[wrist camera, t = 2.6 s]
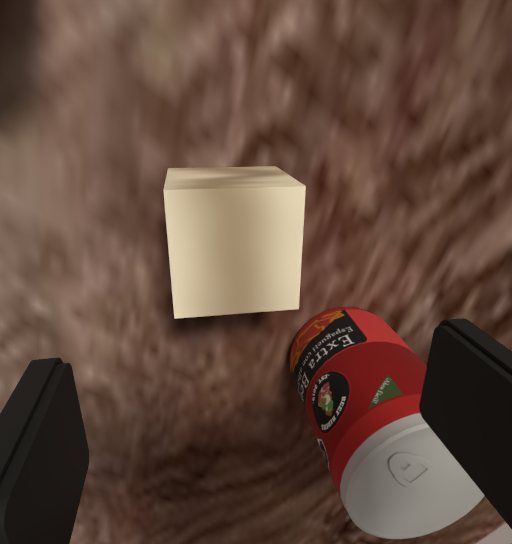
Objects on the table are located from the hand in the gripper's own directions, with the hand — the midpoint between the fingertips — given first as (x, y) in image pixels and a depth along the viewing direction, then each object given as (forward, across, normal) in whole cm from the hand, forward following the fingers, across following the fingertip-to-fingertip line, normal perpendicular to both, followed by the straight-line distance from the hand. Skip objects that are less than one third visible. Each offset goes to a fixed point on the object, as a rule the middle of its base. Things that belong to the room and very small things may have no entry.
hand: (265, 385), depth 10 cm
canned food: (+15, -9, +9) cm, 19 cm away
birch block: (+14, -1, -1) cm, 15 cm away
